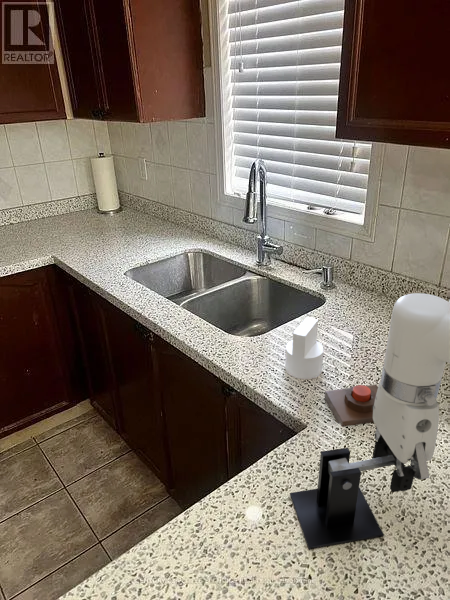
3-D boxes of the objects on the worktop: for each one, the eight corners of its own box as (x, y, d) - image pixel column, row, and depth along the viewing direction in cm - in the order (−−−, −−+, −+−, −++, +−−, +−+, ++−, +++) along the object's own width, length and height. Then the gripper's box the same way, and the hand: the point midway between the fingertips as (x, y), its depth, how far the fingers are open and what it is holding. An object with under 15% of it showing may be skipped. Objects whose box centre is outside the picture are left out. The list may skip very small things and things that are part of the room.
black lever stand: (356, 488, 78) (364, 432, 72) (382, 540, 69) (394, 482, 63) (289, 498, 76) (292, 443, 71) (308, 553, 68) (313, 495, 62)
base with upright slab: (293, 354, 116) (295, 313, 110) (327, 363, 111) (330, 321, 106) (279, 373, 109) (280, 330, 103) (314, 383, 105) (317, 339, 99)
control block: (375, 392, 101) (377, 377, 99) (397, 422, 92) (399, 407, 90) (324, 398, 100) (325, 384, 98) (341, 430, 91) (343, 414, 89)
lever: (390, 452, 72) (391, 441, 70) (406, 476, 67) (408, 465, 66) (324, 465, 70) (324, 453, 69) (336, 490, 66) (337, 479, 65)
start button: (365, 390, 96) (366, 383, 95) (372, 401, 93) (374, 394, 92) (349, 392, 96) (350, 385, 95) (356, 403, 92) (357, 396, 92)
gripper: (474, 419, 55) (444, 518, 63) (403, 345, 70) (387, 432, 78) (417, 426, 54) (395, 526, 62) (358, 350, 69) (346, 438, 77)
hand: (390, 473), depth 70 cm, fingers closed on lever, 5 cm apart
